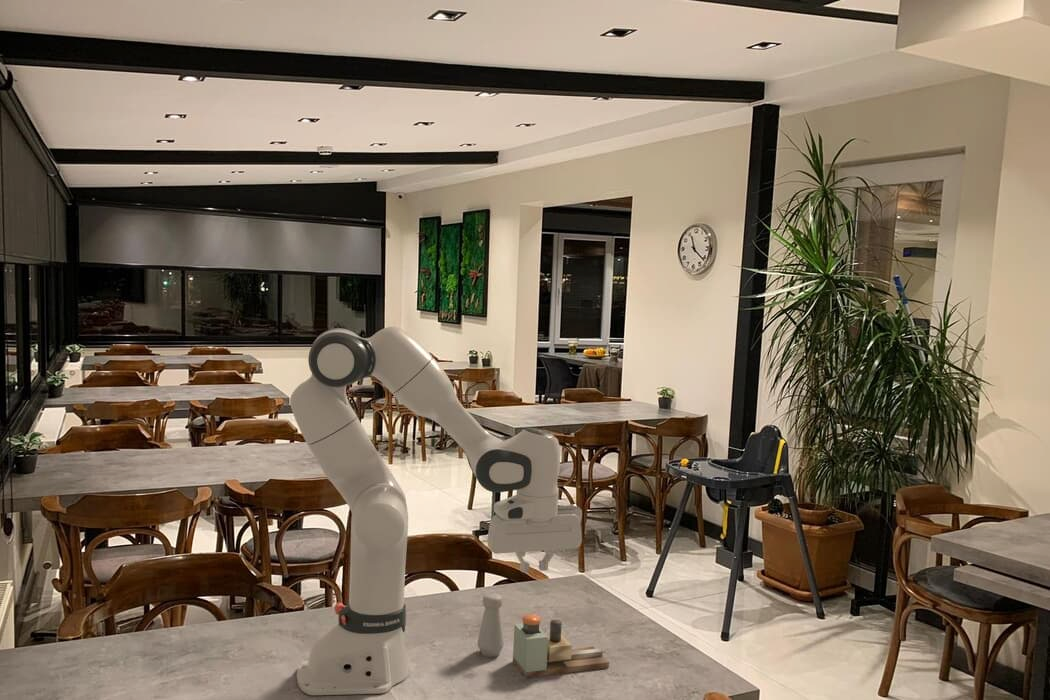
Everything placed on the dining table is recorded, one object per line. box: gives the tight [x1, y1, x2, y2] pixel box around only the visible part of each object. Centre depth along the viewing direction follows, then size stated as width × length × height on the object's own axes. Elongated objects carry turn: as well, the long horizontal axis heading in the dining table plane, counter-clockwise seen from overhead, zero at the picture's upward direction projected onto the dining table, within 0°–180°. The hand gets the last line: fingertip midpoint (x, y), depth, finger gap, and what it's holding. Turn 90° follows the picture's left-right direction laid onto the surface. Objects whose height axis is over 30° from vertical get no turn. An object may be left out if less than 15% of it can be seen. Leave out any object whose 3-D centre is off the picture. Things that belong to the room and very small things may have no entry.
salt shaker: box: [477, 593, 505, 658], centre depth 179 cm, size 6×6×13 cm
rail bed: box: [512, 646, 610, 679], centre depth 176 cm, size 19×8×2 cm, turn 110°
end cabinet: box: [512, 622, 548, 672], centre depth 173 cm, size 5×8×7 cm, turn 20°
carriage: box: [546, 619, 573, 662], centre depth 175 cm, size 5×6×7 cm
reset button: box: [522, 613, 541, 634], centre depth 173 cm, size 4×4×5 cm
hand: (533, 570), depth 172 cm, fingers open, 3 cm apart
